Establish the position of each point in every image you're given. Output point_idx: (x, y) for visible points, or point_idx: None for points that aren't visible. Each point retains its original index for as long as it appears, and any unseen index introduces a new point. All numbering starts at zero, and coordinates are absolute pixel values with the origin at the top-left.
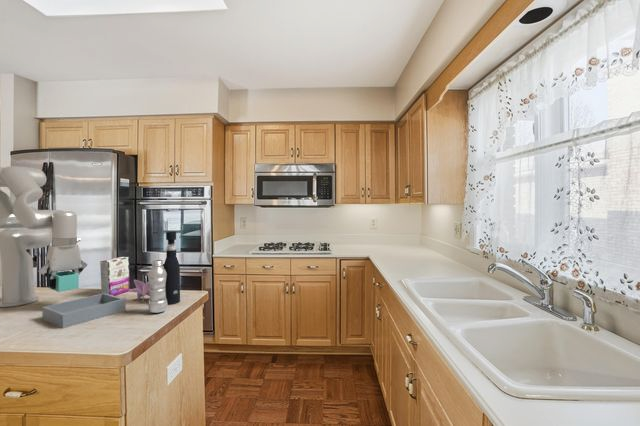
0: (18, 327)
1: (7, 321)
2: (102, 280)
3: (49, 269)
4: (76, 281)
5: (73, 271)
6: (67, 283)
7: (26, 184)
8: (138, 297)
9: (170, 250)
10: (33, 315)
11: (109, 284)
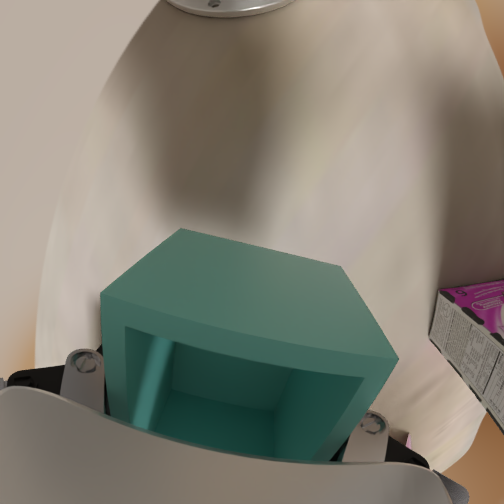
0: (57, 335)
1: (54, 231)
2: (487, 345)
3: (41, 398)
4: (268, 453)
5: (348, 450)
6: (204, 439)
7: None
8: (408, 438)
9: None
10: (120, 256)
11: (460, 376)
